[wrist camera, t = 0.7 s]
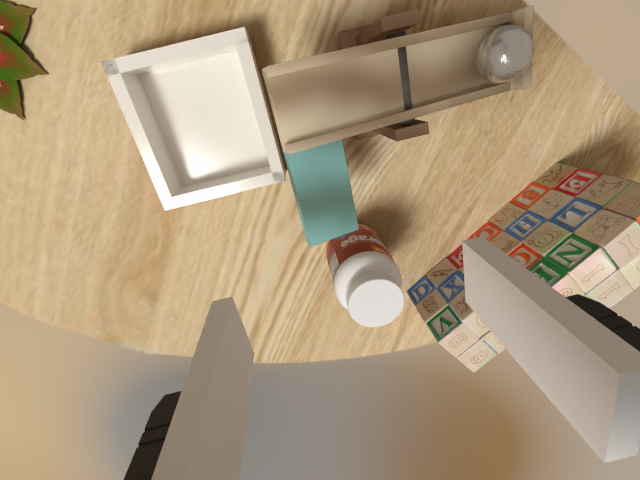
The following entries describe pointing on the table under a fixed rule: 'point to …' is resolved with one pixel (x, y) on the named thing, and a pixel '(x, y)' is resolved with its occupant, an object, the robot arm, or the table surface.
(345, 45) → the fulcrum
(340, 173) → the lever
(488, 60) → the ball
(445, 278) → the stack of blocks
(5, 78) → the lily flower
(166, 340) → the table surface
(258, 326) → the table surface
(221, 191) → the white square tray
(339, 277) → the pill bottle
